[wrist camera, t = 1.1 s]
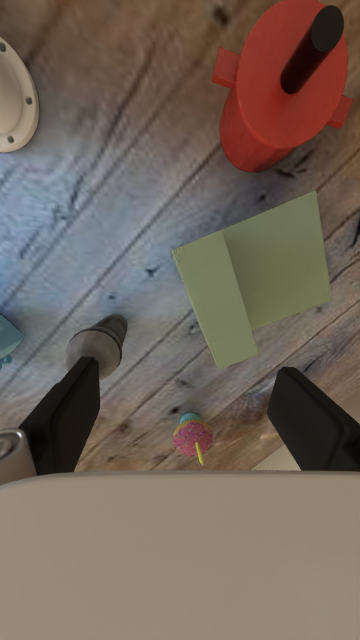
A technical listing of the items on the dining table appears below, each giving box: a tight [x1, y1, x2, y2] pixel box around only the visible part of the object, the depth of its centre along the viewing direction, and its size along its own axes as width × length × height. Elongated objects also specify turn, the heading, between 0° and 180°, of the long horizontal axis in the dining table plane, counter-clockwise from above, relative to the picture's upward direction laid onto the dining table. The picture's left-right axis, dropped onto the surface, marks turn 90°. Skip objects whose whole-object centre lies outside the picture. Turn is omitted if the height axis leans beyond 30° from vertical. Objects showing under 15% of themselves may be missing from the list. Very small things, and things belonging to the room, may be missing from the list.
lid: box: [236, 0, 348, 149], centre depth 20 cm, size 12×12×6 cm
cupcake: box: [173, 413, 213, 466], centre depth 41 cm, size 9×8×12 cm
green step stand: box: [171, 190, 332, 369], centre depth 31 cm, size 22×17×13 cm
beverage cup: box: [64, 314, 127, 380], centre depth 29 cm, size 7×7×20 cm
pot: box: [212, 47, 353, 173], centre depth 26 cm, size 11×17×8 cm
